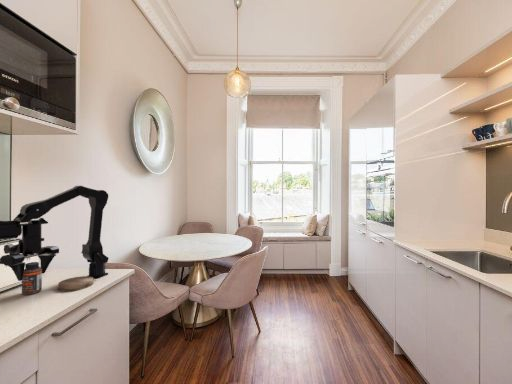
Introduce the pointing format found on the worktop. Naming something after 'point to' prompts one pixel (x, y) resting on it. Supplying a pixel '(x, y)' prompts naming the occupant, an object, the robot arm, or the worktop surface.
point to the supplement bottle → (32, 279)
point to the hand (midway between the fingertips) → (31, 276)
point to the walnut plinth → (75, 283)
